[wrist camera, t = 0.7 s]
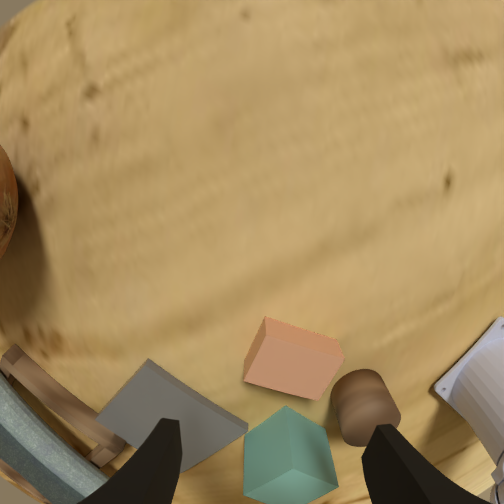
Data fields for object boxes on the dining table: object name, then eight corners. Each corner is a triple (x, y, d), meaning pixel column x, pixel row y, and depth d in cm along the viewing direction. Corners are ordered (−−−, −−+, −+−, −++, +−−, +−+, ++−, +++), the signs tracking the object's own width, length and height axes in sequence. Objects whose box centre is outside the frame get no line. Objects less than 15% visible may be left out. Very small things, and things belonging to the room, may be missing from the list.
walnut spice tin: (391, 384, 21) (410, 419, 17) (352, 416, 22) (365, 452, 18) (361, 359, 20) (380, 396, 16) (319, 395, 21) (330, 434, 17)
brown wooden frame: (128, 434, 23) (122, 450, 21) (53, 496, 28) (48, 505, 26) (15, 343, 20) (2, 355, 18) (-15, 443, 26) (-21, 452, 24)
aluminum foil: (146, 521, 23) (168, 509, 24) (154, 565, 17) (180, 554, 18) (-22, 375, 18) (-4, 356, 19) (-54, 407, 12) (-37, 387, 13)
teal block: (325, 428, 22) (338, 486, 16) (285, 455, 23) (290, 511, 17) (285, 405, 21) (292, 468, 16) (244, 434, 22) (243, 495, 17)
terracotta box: (335, 337, 20) (344, 358, 18) (312, 377, 21) (318, 400, 18) (264, 314, 20) (266, 334, 17) (244, 357, 20) (243, 381, 18)
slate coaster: (248, 423, 22) (247, 430, 21) (182, 466, 24) (181, 473, 23) (148, 358, 20) (145, 364, 19) (97, 414, 22) (93, 420, 21)
